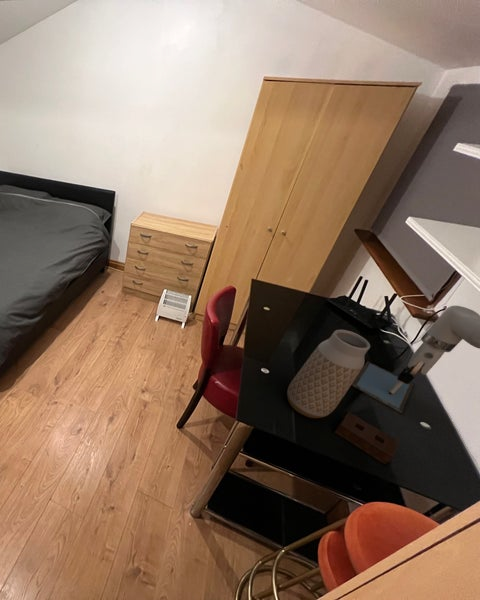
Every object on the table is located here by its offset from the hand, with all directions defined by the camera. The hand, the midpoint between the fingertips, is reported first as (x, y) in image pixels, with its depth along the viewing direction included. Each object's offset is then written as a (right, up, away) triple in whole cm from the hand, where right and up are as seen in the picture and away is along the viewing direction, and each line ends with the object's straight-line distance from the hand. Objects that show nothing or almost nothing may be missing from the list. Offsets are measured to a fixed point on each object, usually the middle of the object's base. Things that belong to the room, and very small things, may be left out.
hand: (403, 379), depth 115 cm
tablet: (+1, -4, +9) cm, 10 cm away
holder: (-26, -16, -13) cm, 33 cm away
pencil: (-1, -6, +4) cm, 7 cm away
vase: (-37, -9, -3) cm, 38 cm away
